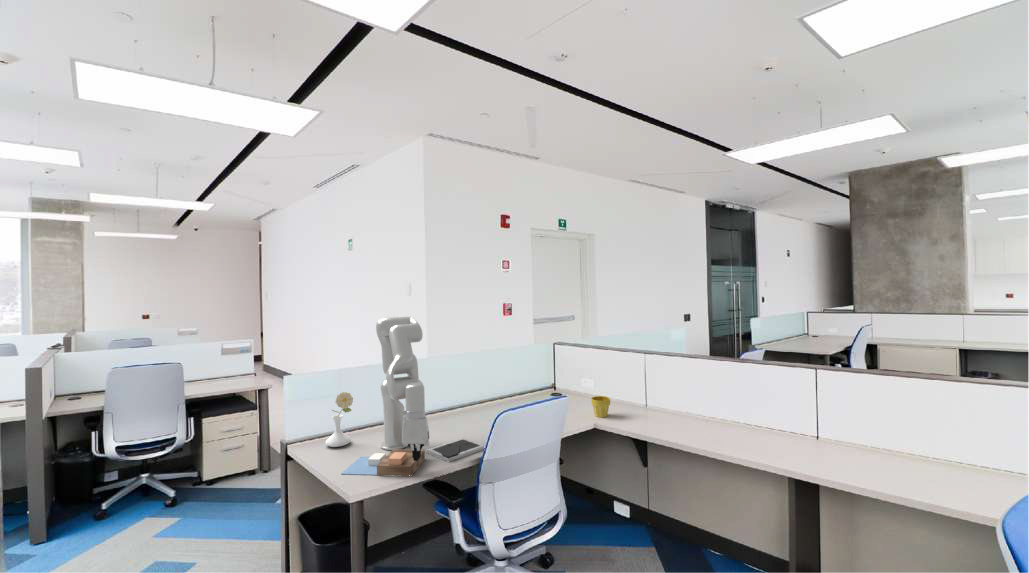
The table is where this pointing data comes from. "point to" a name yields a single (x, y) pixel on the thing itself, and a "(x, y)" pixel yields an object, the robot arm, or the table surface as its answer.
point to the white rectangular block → (376, 458)
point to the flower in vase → (338, 436)
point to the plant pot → (600, 405)
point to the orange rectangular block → (397, 458)
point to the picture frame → (455, 449)
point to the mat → (361, 468)
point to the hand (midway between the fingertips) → (416, 459)
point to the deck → (404, 468)
